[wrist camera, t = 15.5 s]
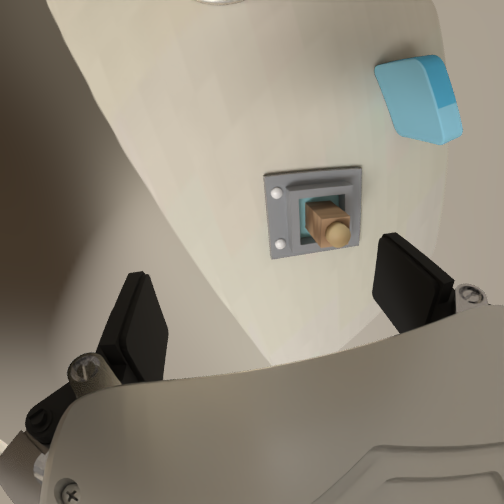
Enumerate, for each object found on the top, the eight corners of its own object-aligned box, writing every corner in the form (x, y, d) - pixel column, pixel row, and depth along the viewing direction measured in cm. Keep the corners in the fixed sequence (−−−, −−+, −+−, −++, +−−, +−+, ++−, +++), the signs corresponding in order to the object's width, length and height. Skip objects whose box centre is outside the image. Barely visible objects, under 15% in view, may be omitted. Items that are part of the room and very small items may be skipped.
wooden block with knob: (305, 202, 41) (325, 223, 33) (330, 200, 41) (355, 220, 33) (305, 227, 42) (324, 253, 35) (329, 225, 43) (353, 249, 35)
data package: (415, 127, 38) (465, 138, 27) (396, 135, 38) (446, 147, 28) (391, 61, 32) (441, 53, 22) (370, 66, 33) (419, 57, 22)
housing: (263, 175, 39) (267, 180, 36) (358, 167, 40) (369, 172, 37) (270, 256, 45) (274, 267, 42) (356, 242, 46) (365, 252, 43)
